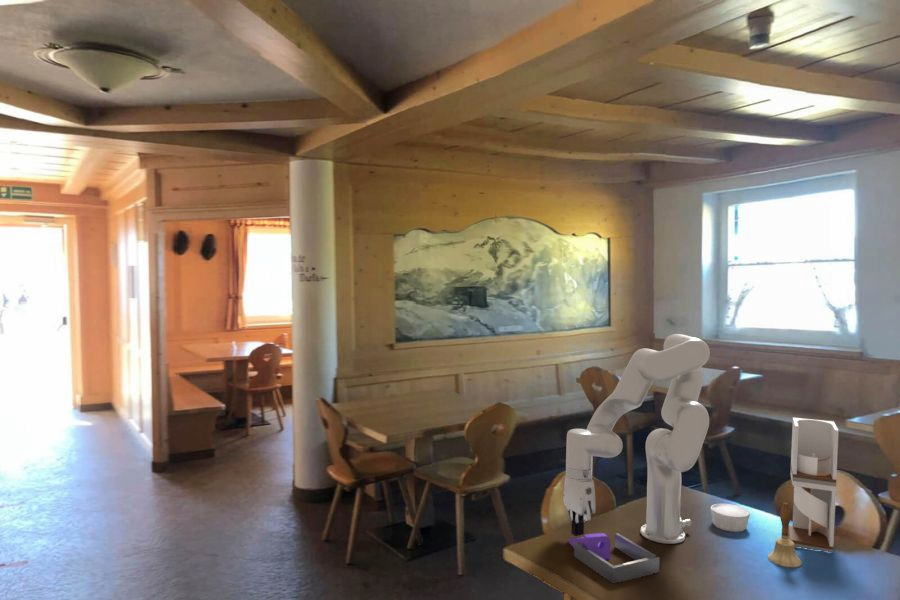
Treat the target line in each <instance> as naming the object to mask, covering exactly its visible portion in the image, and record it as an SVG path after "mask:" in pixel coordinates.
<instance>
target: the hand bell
mask: <svg viewBox="0 0 900 600" xmlns="http://www.w3.org/2000/svg"><path fill="white" fill-rule="evenodd" d="M791 516H792V511H791V509H790V505H789V503H788V502H787V501H786V502H783V503H782V506H781V507H780V512H779V518H780V522H781V537H779V538H776V540H775V544H774V548H773V550H772V551H771V552H770V553H768V555H767V559H768V561H770V562H771V563H772V564H774V565H777V566H781V567H786V568H799V567H801V566H802V565H803V562H802V560H801V559H800V558H799V556H798V555H797V552H796V548H795V547H794V542H793V541H791V540H789V534H788V533H789V532H788V526H789V525H790V522H791V519H792V517H791Z"/></svg>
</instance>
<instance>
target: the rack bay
mask: <svg viewBox="0 0 900 600" xmlns="http://www.w3.org/2000/svg"><path fill="white" fill-rule="evenodd" d="M615 547H616V548H617V549H616V548H615ZM614 548H615V549H616V550H618V549H619V550H618V551H620V552H621V551H622V552H621V553H623V554H624V553H625V555H626V556H628V557H629V556H630V557H629V558H631V559H633V560H632V561H627V562H625V563H619V564H616V565H614V564H612V563H610V562H609V561H608V560H607V559H606V560H604V559H603V558H601V557H600V556H598V555H597V554H595V553H594V552H592V551H591V550H589V549H588V548H586V547H585V546H583V545H582V544H580V543H579V542H574V547H573V557H574V558H575V559H577V560H578V561H579V562H581V563H583V565H585V566H587V567H588V568H589V569H591V570H592V571H594V572H595V573H597V574H598V573H599V574H598V575H600V576H601V577H602V576H603V578H604V579H605V578H606V579H605V580H607V581H608V580H609V581H608V582H610V583H611V582H612V583H614V584H617V582H618V583H622V582H626V581H629V580H630V581H631V580H633V579H639V578H642V576H643V577H646V575H647V576H649V575H650V574H651V575H654V574H653V573H655V574H657V573H658V572H659V573H660V557H659V556H657V555H656V554H654V553H652V552H651V551H649V550H647V549H646V548H644V547H642V546H641V545H639V544H637V543H636V542H634V541H633V540H630V539H629V538H627V537H625V536H624V535H622V534H620V533H619V532H618V533H615V534H614ZM621 581H622V582H621ZM612 583H611V584H612Z"/></svg>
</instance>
